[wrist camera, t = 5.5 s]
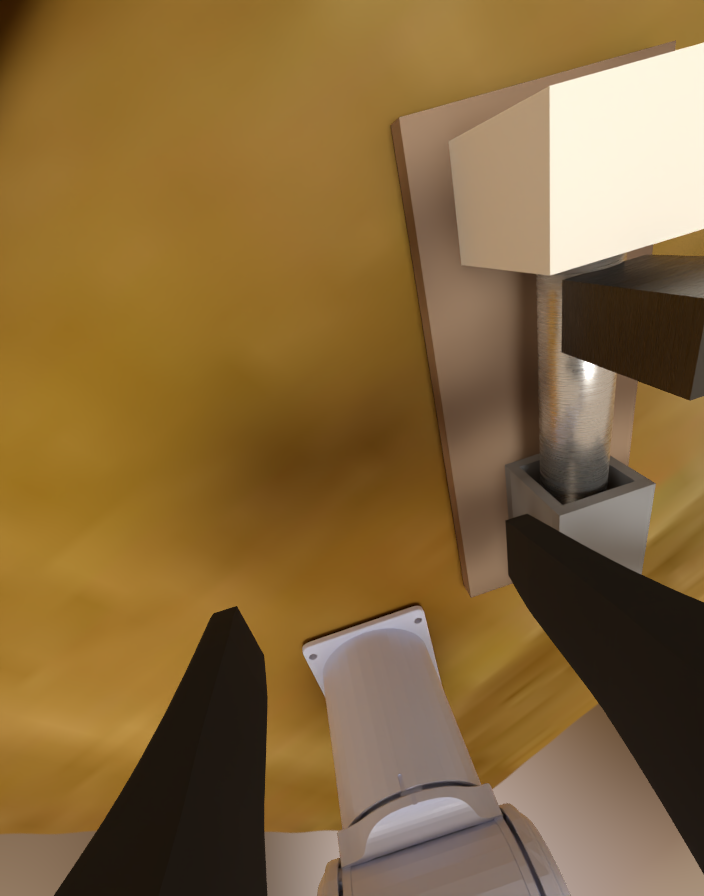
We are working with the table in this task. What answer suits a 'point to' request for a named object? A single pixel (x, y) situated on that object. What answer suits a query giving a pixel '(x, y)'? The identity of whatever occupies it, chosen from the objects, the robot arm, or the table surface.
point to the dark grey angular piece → (610, 355)
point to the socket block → (585, 168)
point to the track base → (501, 362)
